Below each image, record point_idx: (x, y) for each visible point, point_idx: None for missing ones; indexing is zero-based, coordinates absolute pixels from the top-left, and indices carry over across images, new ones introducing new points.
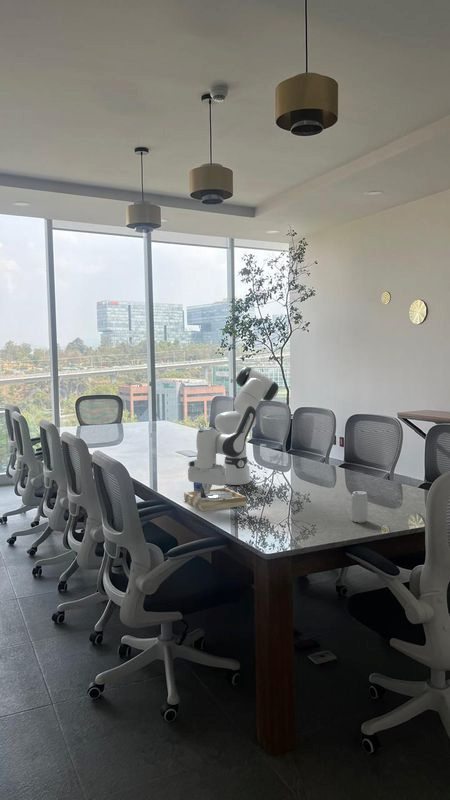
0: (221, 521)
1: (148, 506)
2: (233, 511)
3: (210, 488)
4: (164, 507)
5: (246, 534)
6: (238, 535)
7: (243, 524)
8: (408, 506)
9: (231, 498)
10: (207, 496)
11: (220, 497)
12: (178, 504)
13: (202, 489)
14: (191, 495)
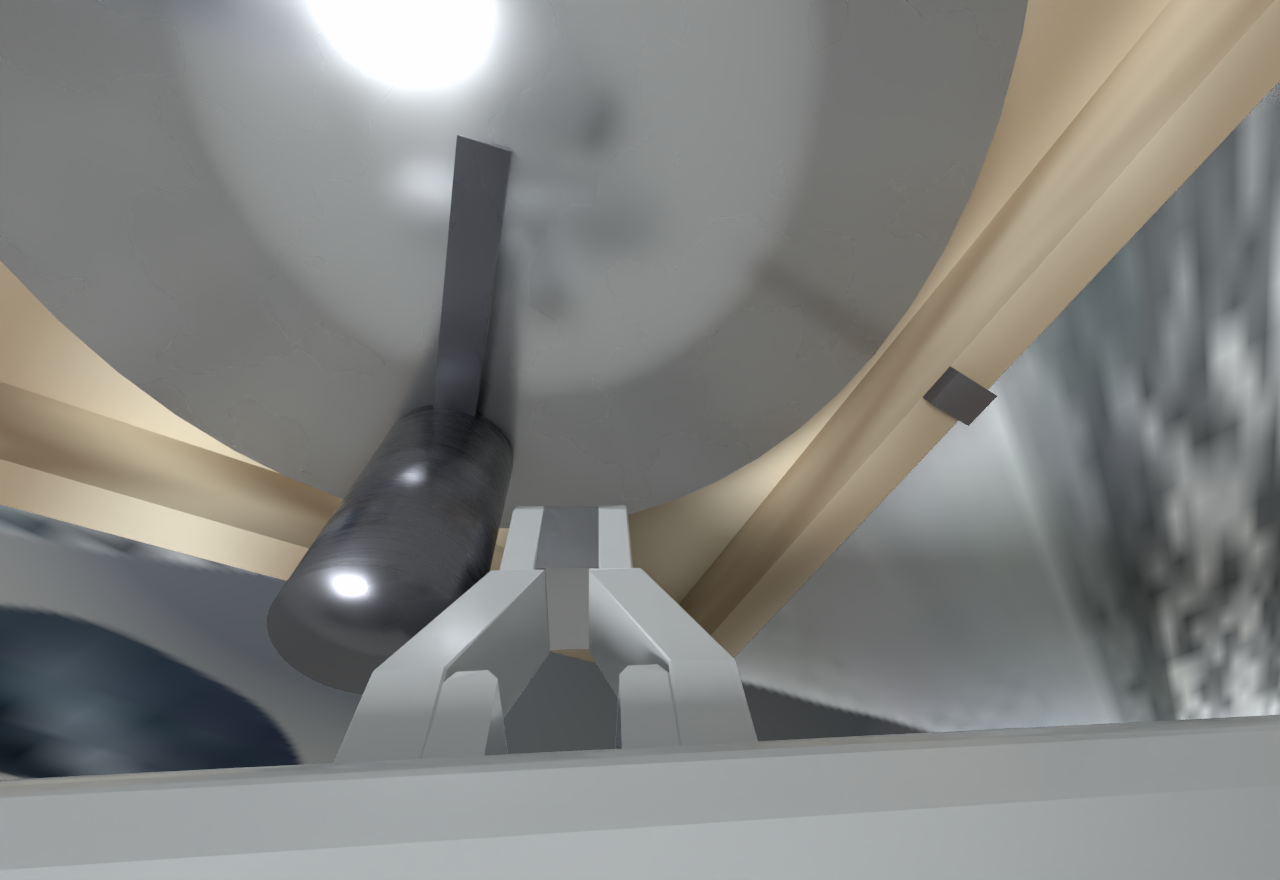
0: (1017, 690)
1: (32, 752)
2: (1057, 403)
3: (663, 596)
4: (201, 696)
5: None
6: None
7: (1218, 656)
8: None
9: (1110, 245)
10: (481, 378)
11: (800, 273)
12: None
13: None
14: (153, 519)
